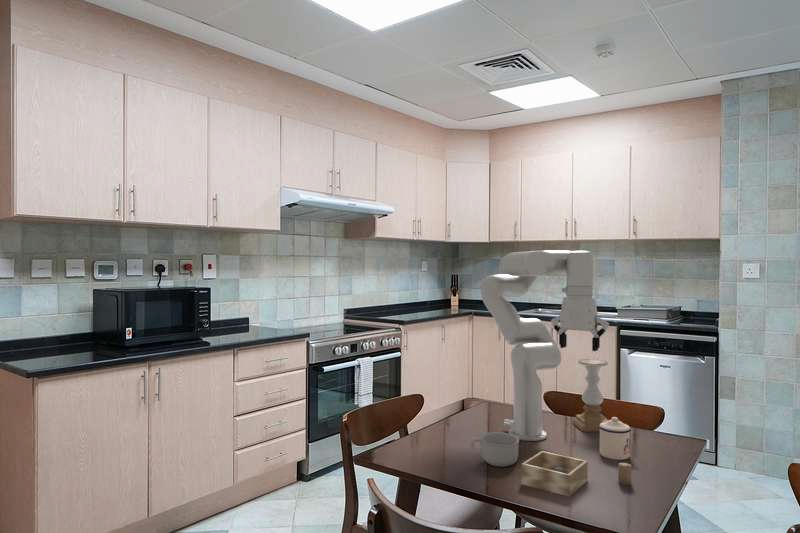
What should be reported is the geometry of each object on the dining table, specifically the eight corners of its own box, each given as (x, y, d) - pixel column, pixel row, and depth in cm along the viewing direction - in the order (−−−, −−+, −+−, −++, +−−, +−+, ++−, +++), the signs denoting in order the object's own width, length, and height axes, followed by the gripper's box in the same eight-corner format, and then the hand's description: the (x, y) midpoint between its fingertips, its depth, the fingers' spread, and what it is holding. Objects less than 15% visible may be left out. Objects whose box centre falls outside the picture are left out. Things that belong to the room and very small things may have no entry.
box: (521, 486, 148) (521, 463, 148) (541, 472, 158) (541, 450, 158) (569, 499, 140) (569, 475, 140) (587, 483, 150) (587, 461, 150)
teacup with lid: (631, 462, 166) (631, 423, 166) (598, 458, 169) (598, 419, 169) (629, 449, 177) (629, 413, 177) (599, 446, 181) (599, 410, 181)
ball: (550, 479, 151) (550, 467, 151) (555, 475, 153) (555, 464, 153) (562, 482, 149) (562, 470, 149) (566, 478, 151) (566, 466, 151)
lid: (589, 489, 147) (589, 466, 147) (606, 474, 158) (606, 452, 158) (645, 504, 139) (645, 479, 139) (659, 486, 150) (659, 463, 150)
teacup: (520, 460, 167) (521, 434, 167) (516, 473, 157) (516, 445, 157) (474, 455, 172) (475, 429, 172) (467, 467, 161) (467, 439, 161)
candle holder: (601, 422, 207) (602, 358, 207) (613, 431, 196) (614, 363, 196) (572, 422, 207) (572, 358, 207) (582, 431, 196) (583, 363, 196)
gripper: (547, 291, 170) (546, 347, 170) (604, 293, 160) (604, 353, 160) (556, 290, 176) (556, 344, 176) (612, 292, 166) (612, 350, 166)
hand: (579, 349), depth 168 cm, fingers open, 9 cm apart
